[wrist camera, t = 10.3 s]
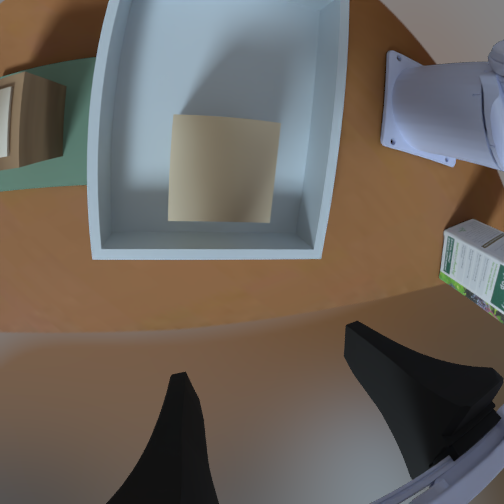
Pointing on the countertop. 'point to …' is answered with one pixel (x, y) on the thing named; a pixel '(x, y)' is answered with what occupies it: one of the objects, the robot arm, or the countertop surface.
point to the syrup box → (475, 264)
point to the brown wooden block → (30, 120)
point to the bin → (214, 104)
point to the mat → (74, 131)
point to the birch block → (222, 169)
